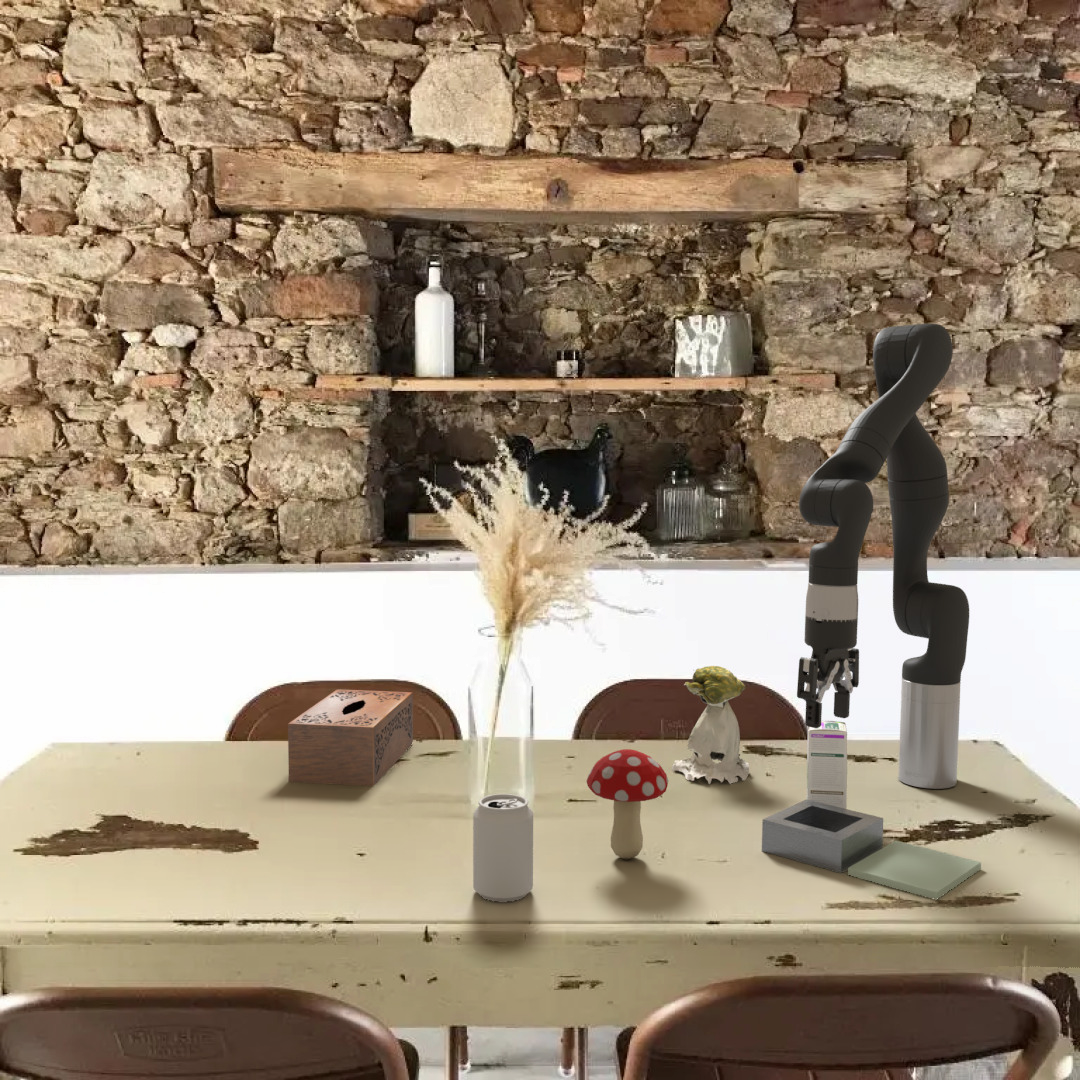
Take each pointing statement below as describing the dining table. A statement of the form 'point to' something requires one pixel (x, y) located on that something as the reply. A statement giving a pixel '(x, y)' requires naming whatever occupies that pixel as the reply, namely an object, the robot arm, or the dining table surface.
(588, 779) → the decorative mushroom
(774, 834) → the steel socket
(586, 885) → the dining table surface
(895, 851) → the green mat
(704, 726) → the yellow capped mushroom
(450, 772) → the dining table surface
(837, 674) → the robot arm
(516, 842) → the can
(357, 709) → the tissue box cover
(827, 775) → the syrup box
